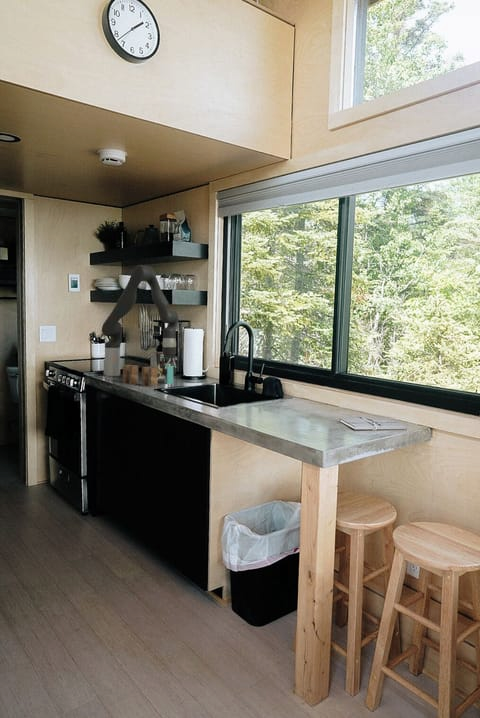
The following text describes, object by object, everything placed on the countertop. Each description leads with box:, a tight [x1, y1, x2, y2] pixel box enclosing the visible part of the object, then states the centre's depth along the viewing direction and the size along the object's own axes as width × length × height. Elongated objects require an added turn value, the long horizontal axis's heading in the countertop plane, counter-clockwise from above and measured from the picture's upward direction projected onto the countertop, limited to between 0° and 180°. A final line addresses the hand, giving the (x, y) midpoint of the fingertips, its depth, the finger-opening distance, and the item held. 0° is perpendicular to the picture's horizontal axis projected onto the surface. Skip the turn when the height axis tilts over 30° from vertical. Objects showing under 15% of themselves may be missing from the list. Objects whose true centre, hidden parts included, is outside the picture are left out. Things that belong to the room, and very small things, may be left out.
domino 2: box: [128, 365, 139, 385], centre depth 297 cm, size 2×5×10 cm, turn 145°
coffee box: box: [150, 351, 166, 380], centre depth 321 cm, size 9×6×16 cm
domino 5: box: [164, 365, 174, 385], centre depth 300 cm, size 2×5×10 cm, turn 145°
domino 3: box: [141, 366, 151, 387], centre depth 291 cm, size 2×5×10 cm, turn 145°
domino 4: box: [147, 367, 159, 387], centre depth 288 cm, size 2×5×10 cm, turn 145°
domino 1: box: [122, 364, 133, 384], centre depth 300 cm, size 2×5×10 cm, turn 145°
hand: (169, 375), depth 300 cm, fingers open, 6 cm apart
